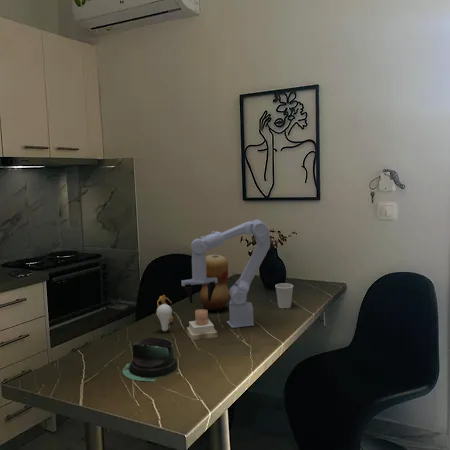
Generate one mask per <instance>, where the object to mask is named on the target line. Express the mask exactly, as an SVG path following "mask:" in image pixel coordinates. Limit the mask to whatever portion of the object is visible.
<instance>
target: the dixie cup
mask: <svg viewBox="0 0 450 450" xmlns="http://www.w3.org/2000/svg"><path fill="white" fill-rule="evenodd" d="M274 287H275V291H276V293H275V294H276V298H277V301H276V302H277V307H278V308H279V309H282V310H283V309H284V308H286V309H291V307H292V301H293V300H292V298H293V292H294V291H293V289H294V285H293V284H292V283H287V282H286V283H285V282H284V283H282V282H281V283H277V284H275V286H274Z"/></svg>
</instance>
